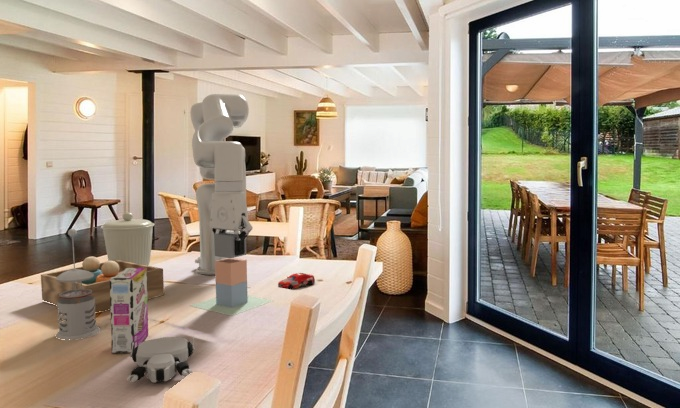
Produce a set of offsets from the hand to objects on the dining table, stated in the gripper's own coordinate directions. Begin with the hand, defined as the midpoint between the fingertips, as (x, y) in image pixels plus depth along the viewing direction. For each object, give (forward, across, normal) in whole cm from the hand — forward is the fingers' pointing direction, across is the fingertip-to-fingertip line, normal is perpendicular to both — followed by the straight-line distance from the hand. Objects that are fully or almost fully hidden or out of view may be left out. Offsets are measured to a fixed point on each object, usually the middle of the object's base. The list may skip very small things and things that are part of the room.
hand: (230, 252), depth 141 cm
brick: (+8, 0, 0) cm, 8 cm away
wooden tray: (+15, -38, -14) cm, 43 cm away
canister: (+16, -65, +13) cm, 68 cm away
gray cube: (+1, 0, 0) cm, 1 cm away
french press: (+16, -17, -34) cm, 41 cm away
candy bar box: (+16, +1, -32) cm, 36 cm away
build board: (+15, 0, 0) cm, 15 cm away
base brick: (+14, 0, 0) cm, 14 cm away
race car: (+16, 0, +28) cm, 32 cm away
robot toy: (+16, +18, -37) cm, 45 cm away
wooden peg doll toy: (+16, -37, -12) cm, 42 cm away
